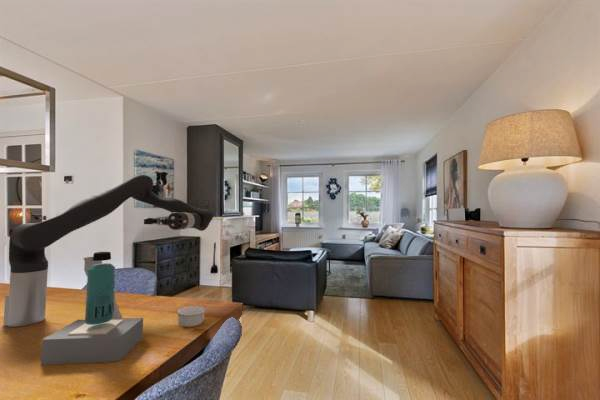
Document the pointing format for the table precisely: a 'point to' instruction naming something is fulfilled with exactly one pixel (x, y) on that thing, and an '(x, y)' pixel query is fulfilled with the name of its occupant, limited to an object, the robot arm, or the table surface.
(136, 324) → the stand
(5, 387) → the table surface
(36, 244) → the robot arm
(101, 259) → the beverage bottle
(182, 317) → the ramekin
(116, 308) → the flask
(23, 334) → the table surface
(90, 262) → the chalice
